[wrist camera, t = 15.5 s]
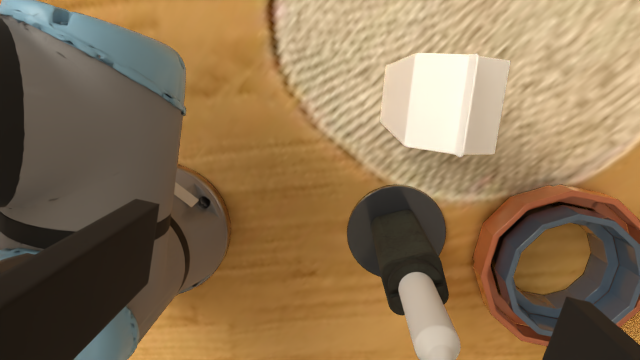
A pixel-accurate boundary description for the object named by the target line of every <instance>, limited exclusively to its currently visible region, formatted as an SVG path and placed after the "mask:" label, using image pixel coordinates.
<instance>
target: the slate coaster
mask: <svg viewBox="0 0 640 360" xmlns="http://www.w3.org/2000/svg"><path fill="white" fill-rule="evenodd" d="M401 210H410V211H412V212H413V213H414V214H415V216H416V218H417V219H418V221H419V223H420V225H421V226H422V228H423V230H424V232H425V233H426V235H427V237H428V239H429V241H430V242H431V244H432V246H433V248H434V249H435V251H436V253H437V255H438V256H439V254H440V253H441V251H442V248H443V246H444V242H445V237H446V226H445V221H444V217H443V215H442V212H441V211H440V209H439V207H438V206H437V204H436V203H435V202H434V201H433V200H432V199H431V198H430V197H429V196H428V195H427V194H425V193H424V192H422V191H420V190H418V189H416V188H413V187H410V186H404V185H389V186H384V187H381V188H378V189H376V190H374V191H372V192H370V193H368V194H367V195H366V196H364V197H363V198H362V199H361V200H360V201H359V202H358V203H357V205H356V206H355V208H354V209H353V211H352V213H351V215H350V218H349V221H348V226H347V238H348V244H349V248H350V250H351V252H352V254H353V256H354V258H355V259H356V260H357V262H358V263H359V264H360V265H361V266H362V267H363V268H365V269H366V270H367V271H369V272H371V273H372V274H375V275H377V276H380V277H381V274H380V269H379V264H378V259H377V254H376V250H375V245H374V240H373V235H372V230H371V223H372V221H373V220H374V219H375V218H376V217H378V216H381V215H385V214H389V213H393V212H397V211H401Z"/></svg>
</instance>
